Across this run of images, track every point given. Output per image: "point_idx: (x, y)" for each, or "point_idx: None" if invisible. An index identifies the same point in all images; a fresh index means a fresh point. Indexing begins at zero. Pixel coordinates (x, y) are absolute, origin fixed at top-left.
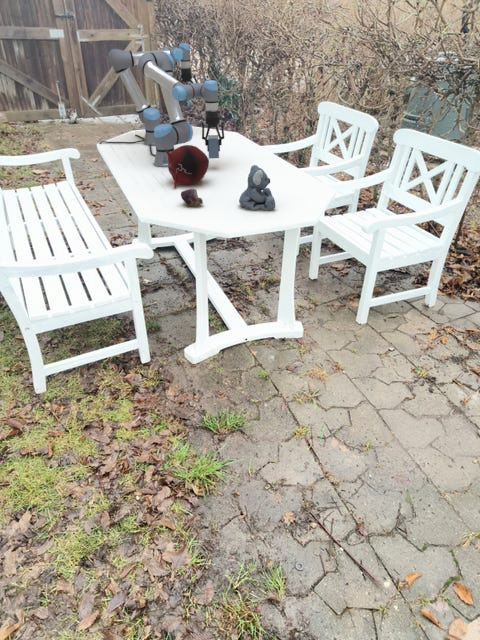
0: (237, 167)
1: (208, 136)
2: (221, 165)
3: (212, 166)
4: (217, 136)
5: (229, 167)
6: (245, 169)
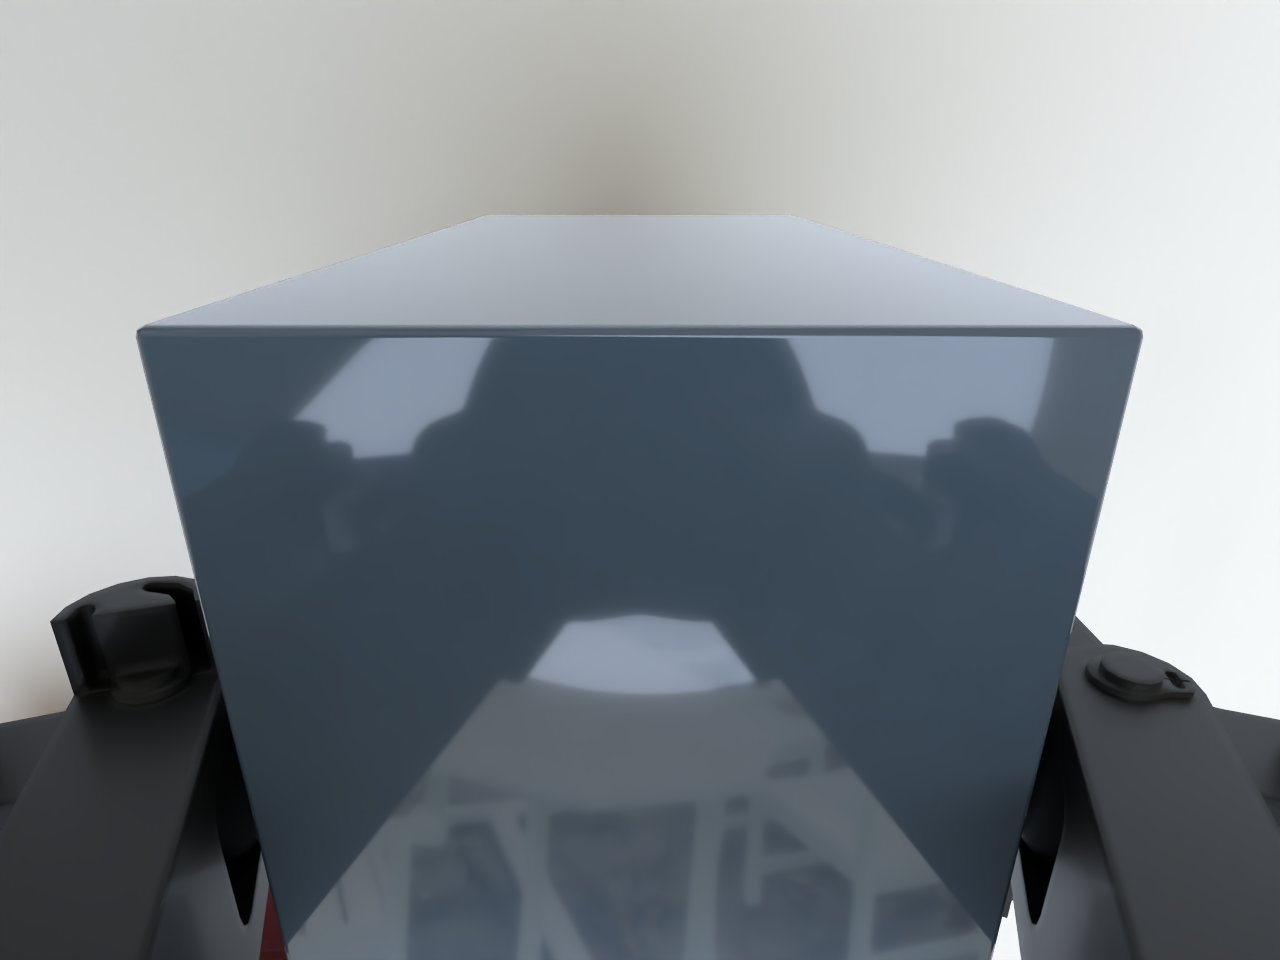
0: (1127, 263)
1: (270, 777)
2: (806, 63)
3: (595, 135)
4: (970, 826)
5: (960, 249)
6: (1241, 415)
